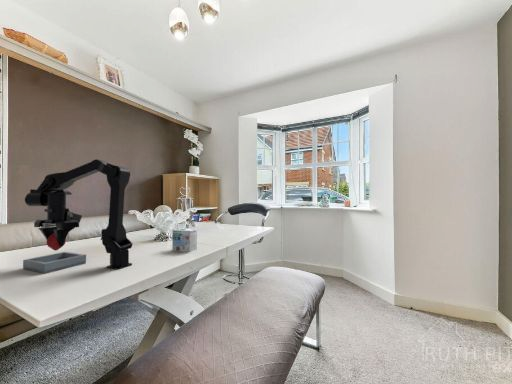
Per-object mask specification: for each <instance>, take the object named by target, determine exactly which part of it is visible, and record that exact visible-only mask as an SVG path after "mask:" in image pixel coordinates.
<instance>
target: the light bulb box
mask: <svg viewBox="0 0 512 384" xmlns="http://www.w3.org/2000/svg"><path fill="white" fill-rule="evenodd" d="M171 249H172V252H174V251H175V252H185V253H191V252H193V250H194V251H196V250H197V249H198V228H186V227H185V228H183V227H178V228H176V229H175V228H174V229H172V247H171Z"/></svg>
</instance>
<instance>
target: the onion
mask: <svg viewBox="0 0 512 384" xmlns="http://www.w3.org/2000/svg"><path fill="white" fill-rule="evenodd" d="M66 243H67V239H66V240H65V242H64V245H63V246H59V244H58V241H57V238H56V236H55V233H53V234H52V235H50V236H49V238H48V239H47V240H46V246H47V247H48V248H50V249H52V250H53V251H58V250H60V249H61V248H62V247H64V246H65V245H66Z"/></svg>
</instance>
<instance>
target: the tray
mask: <svg viewBox="0 0 512 384" xmlns="http://www.w3.org/2000/svg"><path fill="white" fill-rule="evenodd" d="M86 263H87V254H83V253H77V252H70V251H61V252H56V253H50V254H47V255H41V256H36V257H32V258H27V259H23V260H22V270H25V271H30V272H34V273H39V274H44V275H45V274H49V273H54V272H57V271H61V270H64V269H69V268H72V267H76V266H80V265H84V264H86Z"/></svg>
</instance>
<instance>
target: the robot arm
mask: <svg viewBox="0 0 512 384" xmlns="http://www.w3.org/2000/svg"><path fill="white" fill-rule="evenodd" d="M96 173H101V174H103V175H105V176H106V181H107V184H108V185H109V187H110V192H109V193H110V194H109V208H108V209H109V211H108V225H107V226H106V228H103V229H101V231H100V232H101V238H100V241H101V243H102V245H103V246H104V248H105V249H104V250H105V252H106V253H107V254H110V255H109V265H107V266H106V267H105V268H109V269H112V270H113V269H114V270H120V269H122V268H126V267H129V266H133V263H131V262H130V258H129V257H130V255H129V254H130V250H129V249H132V247H133V242H132V241H131V240H130V239H129V238H128V236H127V230H126V228H125V226H124V223H123V222H124V209H125V208H124V207H125V205H124V204H125V191H126V190H125V189H127V188H126V187H127V186H128V185H129V182H130V178H131V171H130V170H129V168H127V167H123V166H119V165H114V164H111V163H109V162H106V161H105V160H101V159H93V160H91V161H90V162H86V163H85V164H82V165H79V166H77V167H75V168H73V169H70V170H67V171H62V172H55V173H50V174H49V173H48V174H46V175H45V176H44V179H43V181H42V182H41V183H40V184H39V186H38V187H37V189H35V188H34V189H30V191H29V193H27V194H26V196H25V197H24V203H25V204H26V205H27V206H28V207H46V208H45V209H44V212H45V213H46V218H45V219H36V220H35V221H34V223H33V224H34V226H33V227H34V228H38V230H39V231H40V232H41V234H42V235H43V236H44V238H45V240H46V241H47V239H48V238H49V236H50V235H52V234H53V233H55V236H56V238H57V241H58V244H59V246H63V245H64V246H65V244H64V242H65V240H66V241H67V237H68V235H69V233H70V232H71V231H72V230H74V229H75V228H80V222H81V221H82V217H83V214H78V213H74V212H72V211H70V209H69V207H68V208H67V196H70V195H72V192H71V191H69V190H68V188H69V187H71V186H73V184H74V183H76V182H77V181H79V180H82V179H84V178H86V177H89V176H92V175H94V174H96ZM64 246H63V247H64Z"/></svg>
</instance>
